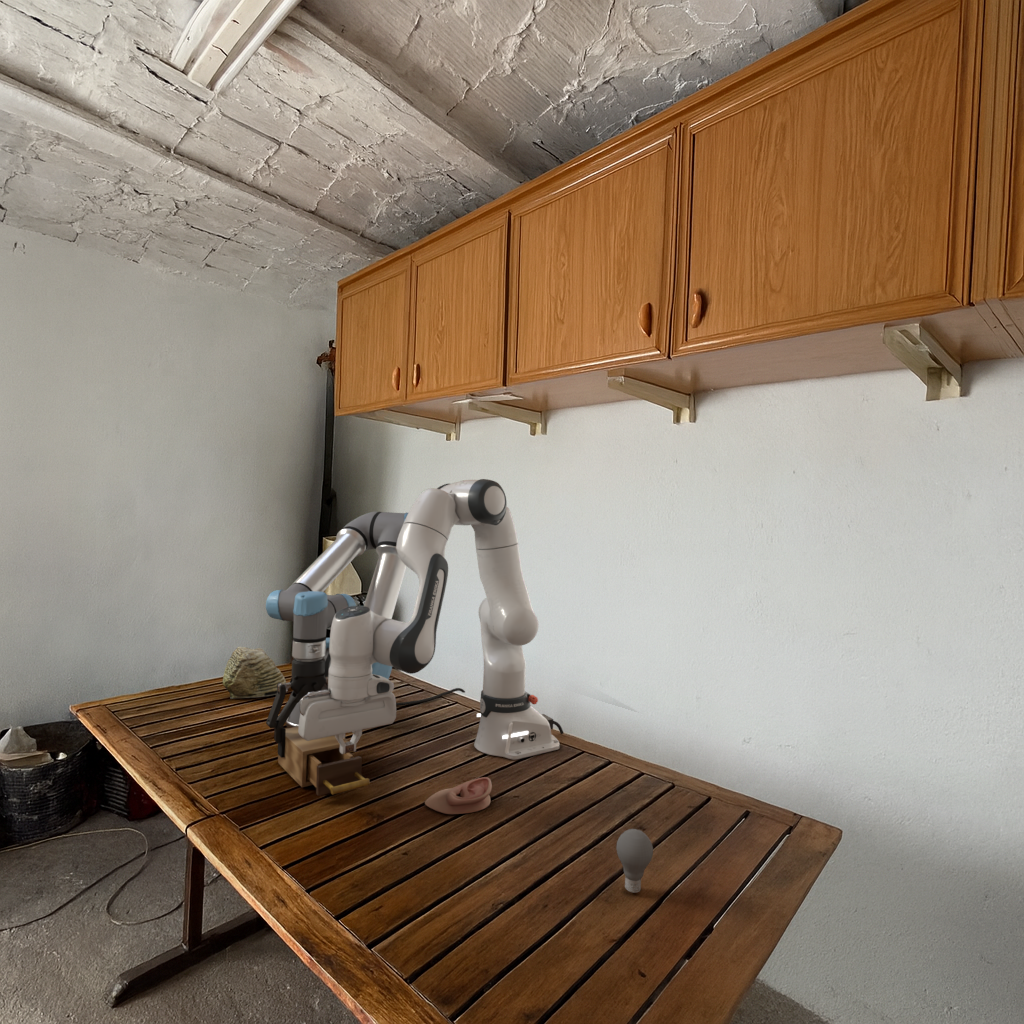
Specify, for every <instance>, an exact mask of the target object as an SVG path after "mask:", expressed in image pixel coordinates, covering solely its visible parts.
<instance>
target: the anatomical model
mask: <svg viewBox="0 0 1024 1024" xmlns="http://www.w3.org/2000/svg"><path fill="white" fill-rule="evenodd" d="M492 789H493V785H492V780H491V778H490V777H487V776H484V777H482V776H481V777H479V778H474V779H471V780H469V781H466V782H464V783H461V784H459V785H456V786H454V787H451V788H445V789H441V790H439V791H437V792H434V793H433V794H432V795H430V796H429V797H428V798H427V799H426V800H425V801H424V805H425V806H426V807H428V808H430V809H431V810H434V811H436V812H438V813H440V814H441V813H442V814H445V815H462V814H469V813H475V812H479V811H482V810H484V809H486V808H488V807H489V806H490V804H491V796H490V794H491V792H492Z"/></svg>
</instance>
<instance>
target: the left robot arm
mask: <svg viewBox="0 0 1024 1024" xmlns="http://www.w3.org/2000/svg"><path fill="white" fill-rule="evenodd" d="M408 513H409V512H389V511H370V512H366V513H364V514H362V515H359V516H358V517H356V518H354V519H352V520H351V521H349V522H348V523H346V524H345V526H343V527H342V528H341V529H340V530H339V531H338V532H337V534H336V536H335V537H336V538H335V540H334V541H332V543H331V544H330V545H329V546H328V547H327V548H326V549H325V550H324V551H323V552H321V554H320V555H319V556H318V557H317V558H316V559H314V561H313V562H312V563H311V564H310V565H309V566H308V567H307V568H306V569H305V570H304V571H303V572H302V573H301V574H300V575H299V576H298V577H297V578H296V579H295V580H294V582H292V583H291V585H289V587H287V589H285V590H284V589H276V590H273V591H271V592H270V593H269V594H268V596H267V597H266V601H265V610H266V613H267V616H268V617H270V618H272V619H275V620H279V621H283V622H293V632H292V633H293V636H292V649H291V650H292V651H291V656H292V660H291V678H290V681H289V682H286V683H281V682H279V683H278V684H277V694H276V695H274V696H275V697H274V699H273V702H272V705H271V707H270V711H269V713H268V716H267V718H266V721H265V725H266V726H268V727H269V728H270V729H274V731H273V741H274V742H275V743H276V744H277V756H278V755H279V756H280V757H281V758H283V757H285V735H286V729H288V728H293V727H299V719H300V714H301V713H300V700H301V699H302V698H303V697H304V696H305V695H307V693H309V692H316V691H320V690H326V689H328V674H329V668H330V664H331V656H330V653H329V645H330V637H327V629H329V628H330V629H331V625H332V621H333V618H334V616H335V614H336V613H337V612H338V611H339V610H341V609H343V608H346V607H350V606H357V604H356V600H355V599H354V598H353V597H352V596H351V595H349V594H347V593H336V594H327V593H326V592H325V591H326V590H327V588H329V586H330V585H331V584H332V583H333V582H334V581H335V580H336V579H337V578H338V576H340V575H341V573H342V572H343V571H344V570H345V569H346V568H347V567H348V566H349V565H350V564H351V562H352V561H353V560H354V559H355V558H356V557H361V555H363V554H364V553H365V552H366V551H369V550H375V553H376V554H377V556H378V559H377V562H376V565H375V568H374V571H373V573H372V574H373V575H372V578H371V581H370V585H369V588H368V591H367V594H366V597H365V600H364V604H363V606H366V607H369V608H370V609H371V611H372V612H374V613H375V614H377V615H380V616H382V617H385V618H389V619H393V616H394V612H395V608H396V605H397V602H398V598H399V595H400V591H401V589H402V585H403V581H404V577H405V574H406V570H407V568H408V567H407V566H406V565H405V564H404V563H403V562H402V561H401V559H400V557H399V555H398V553H397V549H396V545H397V539H398V536H399V533H400V531H401V528H402V526H403V523H404V521H405V519H406V517H407V515H408ZM392 669H393V667H391V666H388V665H384V664H381V663H378V662H376V663H373V664H372V674H375V675H380V676H382V677H385V678H387V679H388V680H390V676H391V674H392ZM289 689H291V690H292V692H291V693H290V695H289V698H288V700H287V702H285V705H284V706H283V703H284V701H285V698H286V695H287V693H288V692H289ZM455 692H461V693H464V694H465V693H466V691H465V689H463V688H460V687H455V688H453V689H450V690H448V691H443V692H441V693H438V694H436V695H434V696H433V695H432V696H431V697H427V698H422V699H417V700H411V701H403V702H401V701H400V702H396V707H400V706H401V707H402V706H408V705H415V704H422V703H425V702H426V703H427V702H430V701H433V700H436V699H438V698H441V697H443V696H446V695H449V694H452V693H455ZM306 698H308V697H306ZM282 706H283V708H282ZM281 709H282V710H281ZM284 726H286V728H285V727H284Z"/></svg>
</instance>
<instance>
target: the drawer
mask: <svg viewBox="0 0 1024 1024" xmlns="http://www.w3.org/2000/svg"><path fill="white" fill-rule="evenodd" d="M362 767H363V758H362V756H360V755H358V756H354V755H353V754H352V753H351V752H350V753H346V754H341V753H340V748H336V749H331V750H327V751H322V752H317V753H313V754H308V755H307V764H306V778H307V779H308V780H309V781H310V782H311V783H312V784H313V785H312V786H314V788H315V795H317V796H318V797H320V796H324V795H328V794H331V795H332V796H333V795H338V794H341V793H345V792H349V791H352V790H356V789H360V788H364V787H368V786H370V784H371V782H370V778H368V777H367V778H365V777H364V776H363V775H362Z"/></svg>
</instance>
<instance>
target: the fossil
mask: <svg viewBox="0 0 1024 1024" xmlns="http://www.w3.org/2000/svg"><path fill="white" fill-rule="evenodd" d="M222 676H223V677H222V685H223V687H224V688H225V690H226V691H228V693H229V698H230V699H250V698H264V697H271V696H276V694H277V684H278V683H279V682H281V683H287V680H286V678H285V676H284V674H283V673H282V672H281V669H279V668H278V667H277V665H276V663H275V662H274V660H273V659H272V658H271V657H270V656H269V655H268V654H267V653H266V652H265V650H264V649H263V648H260V647H258V648H251V647H247V646H246V647H245V646H238V647H237V648H236V649H235V650H233V651H232V653H231V656H230V657H229V659H228V660H227V663H226V666H225V668H224V671H223V675H222Z"/></svg>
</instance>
